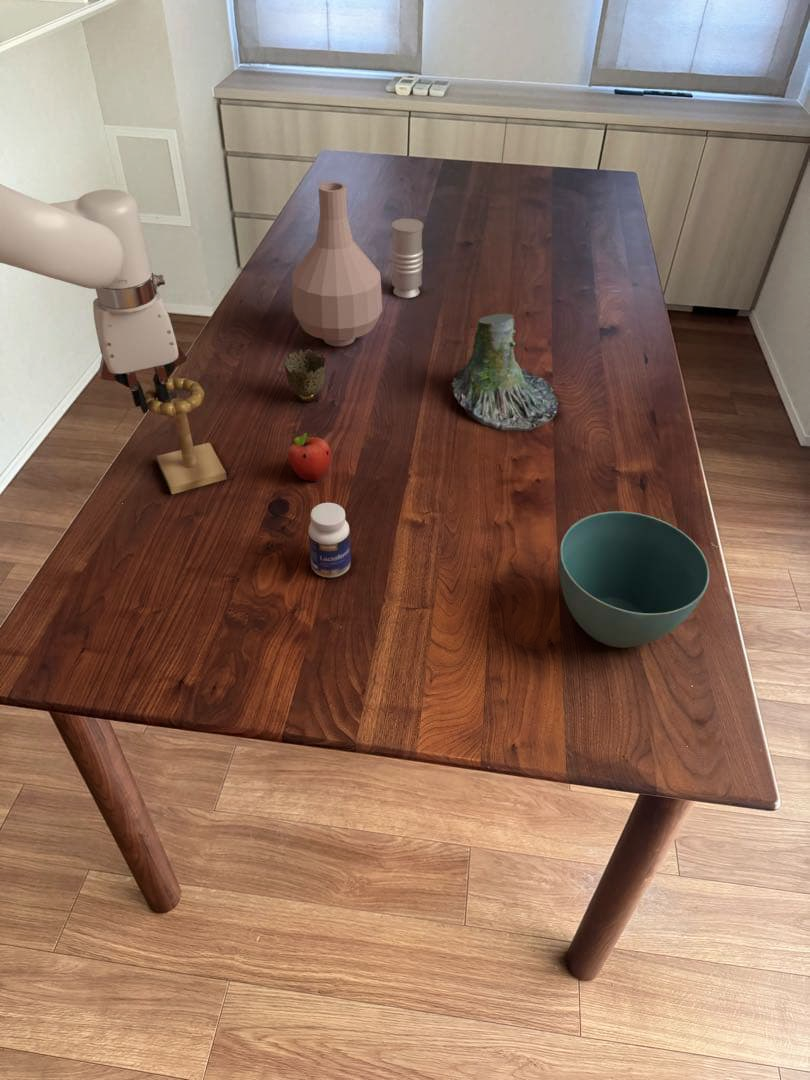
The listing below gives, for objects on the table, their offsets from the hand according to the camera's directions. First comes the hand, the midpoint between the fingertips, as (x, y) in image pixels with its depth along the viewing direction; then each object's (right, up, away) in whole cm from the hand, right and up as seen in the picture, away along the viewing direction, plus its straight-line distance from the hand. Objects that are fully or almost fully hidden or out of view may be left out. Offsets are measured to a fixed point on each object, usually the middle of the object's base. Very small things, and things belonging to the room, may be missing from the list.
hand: (152, 405), depth 119 cm
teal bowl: (+66, -32, -12) cm, 74 cm away
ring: (+3, +1, +1) cm, 3 cm away
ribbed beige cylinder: (+38, +35, +59) cm, 79 cm away
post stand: (+3, -9, +11) cm, 14 cm away
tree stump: (+56, +5, +27) cm, 62 cm away
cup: (+20, +6, +27) cm, 34 cm away
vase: (+24, +21, +43) cm, 54 cm away
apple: (+23, -10, +10) cm, 27 cm away
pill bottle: (+27, -24, -5) cm, 37 cm away
